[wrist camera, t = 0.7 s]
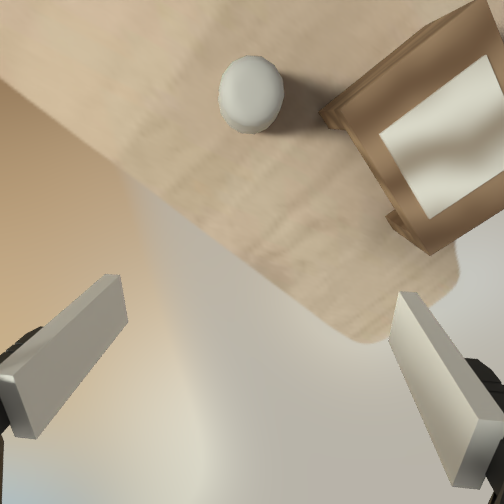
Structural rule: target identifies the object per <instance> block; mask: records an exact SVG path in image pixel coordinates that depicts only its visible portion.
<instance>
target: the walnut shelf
mask: <svg viewBox="0 0 504 504" xmlns="http://www.w3.org/2000/svg"><path fill="white" fill-rule="evenodd" d="M319 114H320V116H321V117H322V119H323V120H324V122H325V123H326V125H327V126H328V128H329V129H340V130H346V131H347V132H348V134H349V136H350V137H351V139H352V140H353V142H354V144H355V145H356V147H357V149H358V150H359V152H360V153H361V155H362V157H363V158H364V160H365V161H366V163H367V165H368V166H369V168H370V169H371V171H372V173H373V174H374V176H375V178H376V179H377V181H378V182H379V184H380V186H381V187H382V189H383V190H384V192H385V194H386V195H387V197H388V198H389V200H390V202H391V203H392V205H393V207H394V208H395V210H394V211H392V212H391V213H389V214H388V215H386V216H385V217H386V219H387V220H388V222H389V223H390V225H391V227H392V228H393V230H395V231H396V232H398V233H399V234H400V235H402V236H403V237H405V238H406V239H407V240H409V241H410V242H412V243H413V244H414V245H416V246H417V247H418V248H420V249H421V250H423V251H424V252H425V253H427V254H428V255H430V256H431V255H432V254H434V253H435V252H437V251H439V250H440V249H442V248H443V247H445V246H447V245H448V244H450V243H451V242H453V241H454V240H456V239H457V238H459V237H461V236H462V235H464V234H465V233H467V232H469V231H470V230H472V229H473V228H475V227H476V226H478V225H480V224H481V223H483V222H484V221H486V220H488V219H489V218H491V217H492V216H494V215H495V214H497V213H499V212H500V211H502V210H503V209H504V43H503V41H502V38H501V36H500V33H499V31H498V28H497V26H496V23H495V21H494V18H493V16H492V13H491V10H490V8H489V5H488V3H487V0H474V1H472V2H470V3H468V4H466V5H464V6H462V7H460V8H458V9H457V10H455V11H453V12H451V13H449V14H447V15H445V16H443V17H441V18H439V19H437V20H435V21H433V22H432V23H430V24H428V25H426V26H424V27H423V28H422V29H420V30H419V31H418V32H417V33H416V34H414V35H413V36H412V37H411V38H409V39H408V40H407V41H406V42H404V43H403V44H402V45H401V46H399V47H398V48H397V49H396V50H394V51H393V52H392V53H391V54H389V55H388V56H387V57H386V58H384V59H383V60H382V61H381V62H380V63H378V64H377V65H376V66H375V67H373V68H372V69H371V70H370V71H368V72H367V73H366V74H365V75H363V76H362V77H361V78H360V79H358V80H357V81H356V82H355V83H353V84H352V85H351V86H350V87H348V88H347V89H346V90H345V91H344V92H342V93H341V94H340V95H339V96H337V97H336V98H335V99H334V100H332V101H331V102H330V103H329V104H327V105H326V106H325V107H324V108H322V109H321V110H320V111H319Z"/></svg>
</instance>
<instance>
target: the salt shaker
mask: <svg viewBox="0 0 504 504" xmlns="http://www.w3.org/2000/svg"><path fill="white" fill-rule="evenodd" d="M283 98H284V87H283V79H282V77H281V75H280V74H279V72H278V70H277V69H276V67H275V65H273V64H272V63H270V62H269V61H267V60H266V59H264V58H263V57H262V56H247V55H246V56H244V57H242V58H240V59H237V60H235V61H233V62H232V63H231V64H230V65H229V67H228V68H227V69H226V71H225V72H224V73H223V75H222V79H221V83H220V87H219V97H218V101H219V106H220V112H221V115H222V116H223V118H224V119H225V121H226V122H227V124H228V125H229V126H230V127H231V128H233V129H235V130H237V131H238V132H240V133H246V134H256V133H259V132H261V131H263V130H265V129H267V128H268V127H269V126H270V125H271V124H272V123H273V122H274V120H275V119H276V118H277V115H278V112H279V111H280V109H281V105H282V102H283Z"/></svg>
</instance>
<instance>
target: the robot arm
mask: <svg viewBox="0 0 504 504" xmlns="http://www.w3.org/2000/svg"><path fill="white" fill-rule="evenodd" d="M127 323H128V318H127V312H126V307H125V300H124V295H123V289H122V283H121V277H120V275H112V274H105V275H104V276H103V277H101V278H100V279H99V280H98V281H97V282H95V283H94V284H93V285H92V286H91V287H90V288H89V289H87V290H86V291H85V292H84V293H83V294H81V296H79V297H78V298H77V299H76V300H75V301H73V302H72V303H71V304H70V305H69V306H68V307H66V308H65V309H64V310H63V311H62V312H60V313H59V314H58V315H57V316H56V317H55V318H54V319H52V320H51V321H50V322H49V323H48V324H46V325H45V326H44V327H38V328H36V329H34V330H33V331H31V332H29V333H27V334H25V335H24V336H23V337H22V338H20V340H18V341H17V342H16V343H15V345H12V346H11V347H10V348H8V349H7V350H6V352H4V353H2V354H1V355H0V504H2V479H3V451H4V441H3V438H2V436H1V434H2V433H3V432H4V430H5V429H6V428H7V427H8V426H9V425H10V426H11V428H12V431H13V433H14V436H15V437H20V438H29V439H37V438H38V437H39V435H40V434H41V433H42V431H43V430H44V429H45V428H46V426H47V425H48V424H49V422H50V421H51V420H52V419H53V417H54V416H55V415H56V414H57V412H58V411H59V410H60V409H61V407H62V406H63V405H64V403H65V402H66V401H67V400H68V398H69V397H70V396H71V394H72V393H73V392H74V391H75V389H76V388H77V387H78V386H79V384H80V383H81V382H82V380H83V379H84V378H85V377H86V375H87V374H88V373H89V371H90V370H91V369H92V367H93V366H94V365H95V364H96V363H97V361H98V360H99V359H100V357H101V356H102V354H104V352H105V351H106V350H107V348H108V347H109V346H110V345H111V343H112V342H113V341H114V340H115V338H116V337H117V336H118V334H119V333H120V332H121V331H122V329H123V328H124V327H125V326H126V324H127ZM389 344H390V346H391V348H392V351H393V353H394V355H395V357H396V360H397V362H398V364H399V367H400V369H401V371H402V373H403V376H404V378H405V380H406V382H407V385H408V387H409V389H410V392H411V394H412V396H413V398H414V401H415V403H416V405H417V408H418V410H419V412H420V414H421V417H422V419H423V421H424V424H425V426H426V428H427V431H428V433H429V435H430V437H431V440H432V442H433V444H434V447H435V449H436V451H437V453H438V456H439V458H440V460H441V463H442V465H443V467H444V469H445V472H446V474H447V476H448V478H449V481H450V483H451V485H452V486H453V487H460V488H469V489H478V490H480V488H481V486H482V483H483V481H484V479H485V477H487V479H488V481H489V483H490V484H491V486H492V488H493V490H494V492H493V494H492V496H491V498H490V500H489V503H488V504H504V385H502V384H501V381H500V380H499V379H498V377H497V376H496V375H495V374H494V372H493V371H492V370H491V369H490V368H488V367H487V366H486V365H484V364H483V363H482V362H480V361H479V360H478V359H470V358H464V357H463V356H462V354H461V353H460V352H459V350H458V349H457V348H456V346H455V345H454V343H453V342H452V341H451V339H450V338H449V336H448V335H447V334H446V332H445V331H444V329H443V328H442V327H441V325H440V324H439V322H438V321H437V320H436V318H435V317H434V316H433V314H432V313H431V311H430V310H429V309H428V307H427V306H426V304H425V303H424V302H423V300H422V299H421V297H420V296H419V295H418V293H417V292H402V291H399V294H398V299H397V303H396V308H395V313H394V317H393V322H392V327H391V331H390V336H389Z"/></svg>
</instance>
